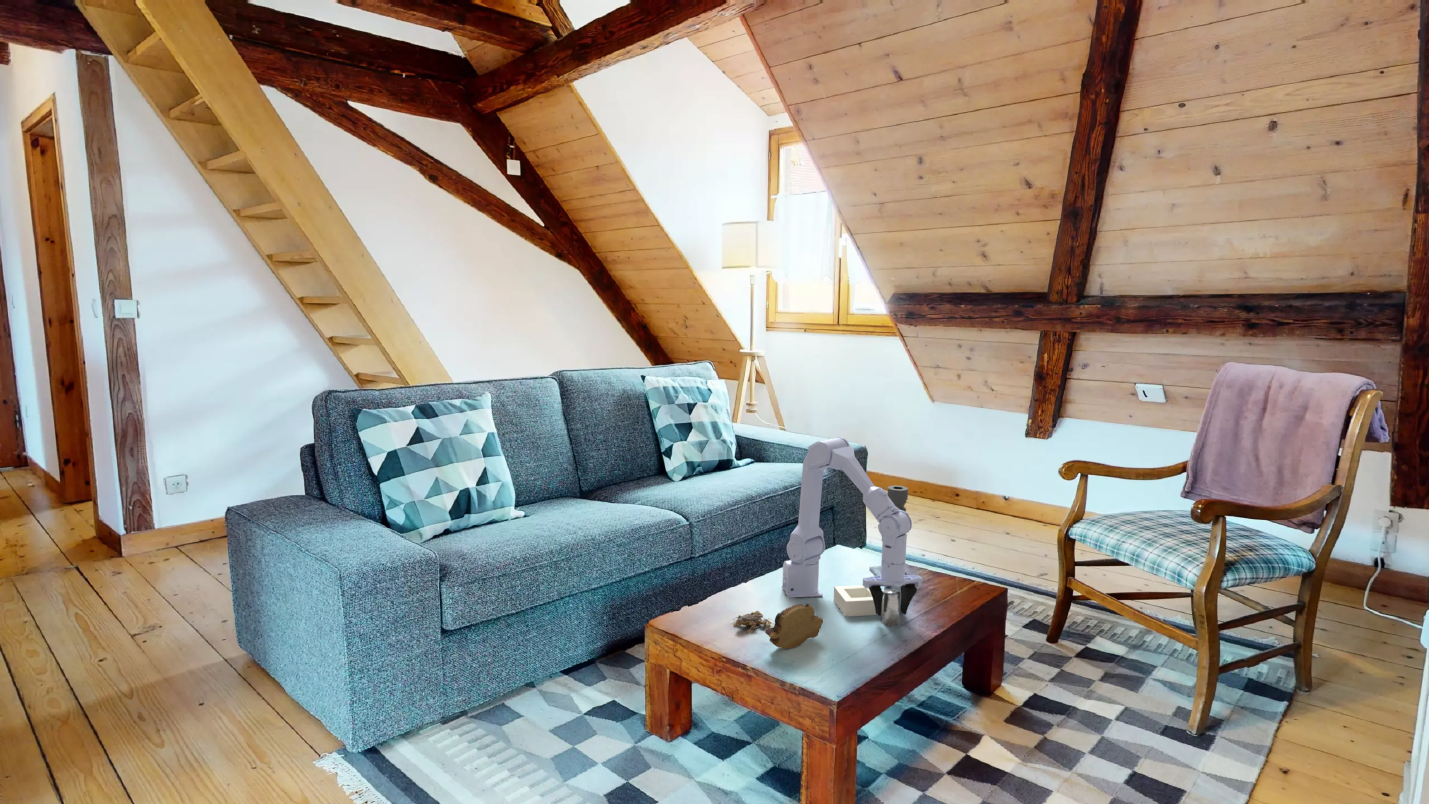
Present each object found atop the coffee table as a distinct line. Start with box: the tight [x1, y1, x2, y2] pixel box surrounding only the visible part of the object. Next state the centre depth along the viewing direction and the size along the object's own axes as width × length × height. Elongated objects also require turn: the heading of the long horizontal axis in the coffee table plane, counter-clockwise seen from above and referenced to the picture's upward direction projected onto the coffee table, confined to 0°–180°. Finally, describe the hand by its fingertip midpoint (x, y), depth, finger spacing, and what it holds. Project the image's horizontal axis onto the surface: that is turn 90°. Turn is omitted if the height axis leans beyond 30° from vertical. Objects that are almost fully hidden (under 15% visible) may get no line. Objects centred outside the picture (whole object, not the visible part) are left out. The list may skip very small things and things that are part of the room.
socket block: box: [833, 584, 883, 617], centre depth 209 cm, size 10×10×4 cm
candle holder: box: [887, 485, 909, 535], centre depth 233 cm, size 6×6×25 cm
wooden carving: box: [764, 603, 824, 650], centre depth 186 cm, size 16×5×10 cm, turn 131°
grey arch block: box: [869, 565, 903, 614], centre depth 209 cm, size 6×10×9 cm, turn 9°
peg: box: [881, 589, 900, 627], centre depth 199 cm, size 4×4×8 cm
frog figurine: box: [730, 610, 775, 635], centre depth 197 cm, size 12×12×4 cm
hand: (890, 613), depth 200 cm, fingers open, 6 cm apart
